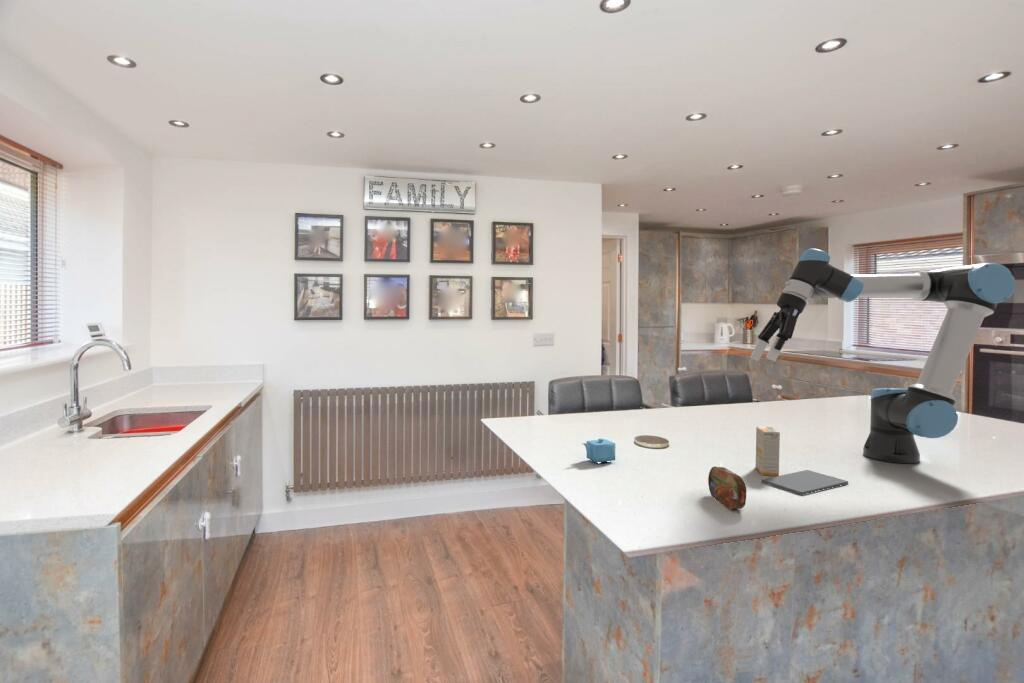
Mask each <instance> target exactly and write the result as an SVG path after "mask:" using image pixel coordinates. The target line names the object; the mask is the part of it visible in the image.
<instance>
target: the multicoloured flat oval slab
mask: <svg viewBox="0 0 1024 683" xmlns="http://www.w3.org/2000/svg"><path fill="white" fill-rule="evenodd" d="M707 481H708V482H707V484H708V491H709V493H710V495H711V497H712V498H713V499H714V498H715V499H716V500H715V499H714V500H715V501H717V502H718V501H719V502H718V503H720V504H721V505H722V504H723V506H724V507H725V508H726V509H729V510H741V509H743V508H744V507H745V505H746V501H747V491H748V490H747V486H746V482H745V480H744V479H743V477H742V476H740V475H738V474H737V473H736V472H733V471H732V470H730V469H728V468H726V467H722V466H712V467H711V468H710V470H709V472H708V478H707Z"/></svg>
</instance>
